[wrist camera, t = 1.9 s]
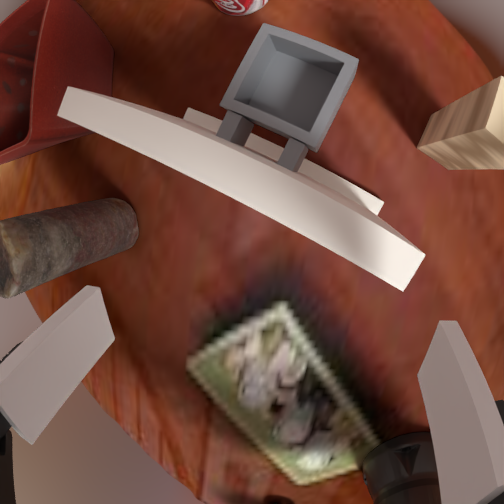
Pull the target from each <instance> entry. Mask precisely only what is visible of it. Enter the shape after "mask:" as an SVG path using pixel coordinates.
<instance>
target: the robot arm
mask: <svg viewBox="0 0 504 504" xmlns="http://www.w3.org/2000/svg"><path fill="white" fill-rule="evenodd" d="M114 340H115V337H114V334H113V331H112V328H111V325H110V321H109V318H108V315H107V311H106V308H105V304H104V301H103V297H102V293H101V290H100V287H94V286H89V285H87V286H85V287H84V288H83V289H82V290H81V291H79V292H78V293H77V294H76V295H75V296H74V297H72V298H71V299H70V300H69V301H68V302H67V303H65V304H64V305H63V306H62V307H61V308H60V309H59V310H57V311H56V312H55V313H54V314H53V315H52V316H51V317H49V318H48V319H47V320H46V321H45V322H44V323H43V324H42V325H41V326H40V327H39V328H37V329H36V330H35V331H34V332H33V333H32V334H31V335H30V336H29V337H28V338H27V339H26V340H24V341H22V342H21V343H19V344H17V345H16V346H15V347H14V348H13V349H12V350H11V351H10V352H9V354H7V355H6V356H5V357H4V358H3V359H2V361H0V504H16V500H15V492H14V479H13V460H12V434H11V431H10V430H9V429H10V427H11V426H12V427H13V428H14V430H15V431H16V432H17V433H18V434H19V436H21V437H22V438H23V439H25V440H26V441H28V442H29V443H30V444H32V445H33V443H34V441H35V440H36V439H37V438H38V436H39V435H40V434H41V432H42V431H43V429H44V428H45V427H46V426H47V424H48V423H49V422H50V420H51V419H52V418H53V416H54V415H55V414H56V412H57V411H58V410H59V408H60V407H61V406H62V405H63V403H64V402H65V401H66V399H67V398H68V397H69V396H70V394H71V393H72V392H73V391H74V389H75V388H76V387H77V385H78V384H79V383H80V382H81V380H82V379H83V378H84V377H85V375H86V374H87V373H88V372H89V371H90V369H91V368H92V367H93V366H94V364H95V363H96V362H97V361H98V359H99V358H100V357H101V356H102V355H103V353H104V352H105V351H106V350H107V349H108V347H109V346H110V345H111V344H112V342H113V341H114ZM417 376H418V380H419V384H420V388H421V392H422V396H423V400H424V404H425V408H426V413H427V417H428V422H429V426H430V431H431V432H416V433H410V434H405V435H402V436H399V437H396V438H393V439H391V440H389V441H387V442H385V443H383V444H381V445H380V446H378V447H377V448H375V449H374V450H373V451H372V452H370V453H369V455H368V456H367V457H366V458H365V460H364V462H363V480H364V482H365V484H366V485H367V487H368V490H369V493H370V495H371V497H372V499H373V502H374V504H504V401H503V400H498V401H494V398H493V396H492V394H491V391H490V389H489V386H488V384H487V382H486V380H485V377H484V375H483V373H482V371H481V368H480V366H479V364H478V362H477V360H476V358H475V356H474V354H473V352H472V350H471V348H470V346H469V344H468V342H467V340H466V338H465V336H464V334H463V332H462V330H461V328H460V326H459V324H458V322H457V321H439V323H438V326H437V329H436V331H435V334H434V337H433V339H432V342H431V344H430V347H429V349H428V352H427V354H426V356H425V359H424V361H423V363H422V366H421V368H420V370H419V373H418V375H417Z"/></svg>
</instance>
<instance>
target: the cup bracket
mask: <svg viewBox="0 0 504 504" xmlns="http://www.w3.org/2000/svg"><path fill="white" fill-rule="evenodd" d="M358 62H359V59H357V58H355V57H353V56H351V55H349V54H347V53H344V52H342V51H340V50H338V49H335V48H333V47H330V46H328V45H326V44H323V43H321V42H318V41H316V40H313V39H310V38H308V37H305V36H302V35H299V34H297V33H294V32H291V31H288V30H285V29H282V28H279V27H275V26H272V25H269V24H266V23H263V25H262V26H261V28H260V30H259V32H258V33H257V35H256V37H255V39H254V40H253V42H252V44H251V46H250V47H249V49H248V51H247V53H246V55H245V57H244V58H243V60H242V62H241V64H240V66H239V68H238V70H237V71H236V73H235V75H234V77H233V79H232V81H231V83H230V85H229V87H228V89H227V91H226V93H225V95H224V97H223V99H222V101H221V103H220V106H221V107H223V108H225V109H226V110H228V111H227V113H226V115H225V117H224V119H223V121H222V120H219V119H217V118H214V117H212V116H209V115H207V114H204V113H202V112H199V111H197V110H194V109H191V108H189V107H188V109H187V111H186V113H185V115H184V118H183V119H181V118H178V117H175V116H172V115H169V114H166V113H163V112H160V111H157V110H154V109H150V108H147V107H144V106H141V105H137V104H134V103H131V102H127V101H124V100H120V99H117V98H113V97H109V96H106V95H102V94H98V93H94V92H90V91H86V90H82V89H78V88H74V87H69V86H68V87H67V90H66V92H65V95H64V98H63V100H62V103H61V106H60V109H59V111H58V114H57V116H60V117H62V118H64V119H67V120H69V121H71V122H74V123H76V124H78V125H80V126H83V127H85V128H87V129H89V130H92V131H94V132H96V133H98V134H101V135H103V136H105V137H107V138H109V139H112V140H114V141H116V142H118V143H120V144H123V145H125V146H127V147H129V148H131V149H133V150H136V151H138V152H140V153H142V154H144V155H146V156H148V157H150V158H153V159H155V160H157V161H159V162H161V163H163V164H165V165H167V166H169V167H171V168H173V169H175V170H177V171H180V172H182V173H184V174H186V175H188V176H190V177H192V178H194V179H196V180H198V181H200V182H202V183H204V184H206V185H208V186H210V187H212V188H214V189H216V190H218V191H220V192H222V193H224V194H226V195H228V196H230V197H232V198H234V199H236V200H238V201H239V202H241V203H243V204H245V205H247V206H249V207H251V208H253V209H255V210H257V211H259V212H261V213H263V214H265V215H266V216H268V217H270V218H272V219H274V220H276V221H278V222H280V223H282V224H283V225H285V226H287V227H289V228H291V229H293V230H295V231H296V232H298V233H300V234H302V235H304V236H306V237H308V238H309V239H311V240H313V241H315V242H317V243H319V244H320V245H322V246H324V247H326V248H328V249H329V250H331V251H333V252H335V253H337V254H338V255H340V256H342V257H344V258H346V259H347V260H349V261H351V262H353V263H354V264H356V265H358V266H360V267H362V268H363V269H365V270H367V271H369V272H370V273H372V274H374V275H375V276H377V277H379V278H381V279H382V280H384V281H386V282H388V283H389V284H391V285H393V286H394V287H396V288H398V289H399V290H401V291H404V289H405V288H406V286H407V285H408V283H409V282H410V280H411V278H412V277H413V275H414V273H415V272H416V270H417V269H418V267H419V265H420V264H421V262H422V260H423V258H424V257H425V254H424V253H423V252H422V251H421V250H419V249H418V248H417V247H416V246H415V245H413V244H412V243H411V242H410V241H409V240H407V239H406V238H405V237H404V236H402V235H401V234H400V233H399V232H397V231H396V230H395V229H394V228H392V227H391V226H390V225H389V224H387V223H386V222H385V221H383V220H382V219H381V218H380V217H378V216H377V215H378V213H379V211H380V209H381V207H382V205H383V204H384V202H383V201H381V200H380V199H378V198H376V197H374V196H373V195H371V194H369V193H368V192H366V191H364V190H362V189H361V188H359V187H357V186H355V185H354V184H352V183H350V182H348V181H347V180H345V179H343V178H341V177H339V176H337V175H336V174H334V173H332V172H330V171H328V170H326V169H324V168H322V167H320V166H319V165H317V164H315V163H313V162H311V161H309V160H307V159H305V156H306V154H307V152H308V149H310V150H312V151H314V152H316V153H317V152H318V150H319V148H320V146H321V144H322V142H323V140H324V138H325V136H326V134H327V132H328V130H329V128H330V126H331V124H332V122H333V120H334V118H335V116H336V114H337V112H338V110H339V108H340V106H341V104H342V102H343V100H344V98H345V96H346V94H347V92H348V89H349V87H350V85H351V83H352V81H353V79H354V77H355V73H356V70H357V66H358ZM251 122H252V123H251ZM253 123H254V124H257V125H259V126H261V127H263V128H266V129H268V130H270V131H272V132H274V133H277V134H279V135H281V136H283V137H285V138H287V139H289V140H288V142H287V144H286V146H285V148H282V147H280V146H278V145H276V144H274V143H272V142H270V141H268V140H265V139H263V138H261V137H259V136H257V135H254V134H252V133H251V131H252V129H253V127H254V124H253Z"/></svg>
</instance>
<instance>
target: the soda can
mask: <svg viewBox="0 0 504 504" xmlns="http://www.w3.org/2000/svg"><path fill="white" fill-rule="evenodd" d="M212 2H213V3H214V4H215V5H216V7H217V8H218V9H219V10H220V11H222V12H223V13H225V14H228V15H234V16H241V15H247V14H251V13H253V12H255V11H257V10H259V9H261V8H262V7H263V6H264V5H265V4H266V3H267V2H268V0H212Z"/></svg>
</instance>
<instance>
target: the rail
mask: <svg viewBox="0 0 504 504" xmlns="http://www.w3.org/2000/svg"><path fill="white" fill-rule="evenodd" d="M417 149H419V150H420V151H422V152H423V153H425V154H426V155H428V156H429V157H431V158H432V159H434V160H435V161H437V162H438V163H440V164H441V165H442V166H444V167H445V168H447V169H448V170H458V169H504V77H503V76H500V77H498V78H496V79H494V80H493V81H491V82H489V83H487V84H485V85H483V86H482V87H480V88H478V89H476V90H474V91H473V92H471V93H469V94H467V95H465V96H464V97H462V98H460V99H458V100H456V101H455V102H453V103H451V104H449V105H448V106H446V107H444V108H442V109H440V110H439V111H437V112H435V113H433V114H432V115H431V116H430V119H429V121H428V123H427V126H426V128H425V130H424V132H423V135H422V137H421V139H420V141H419V143H418V146H417Z"/></svg>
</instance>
